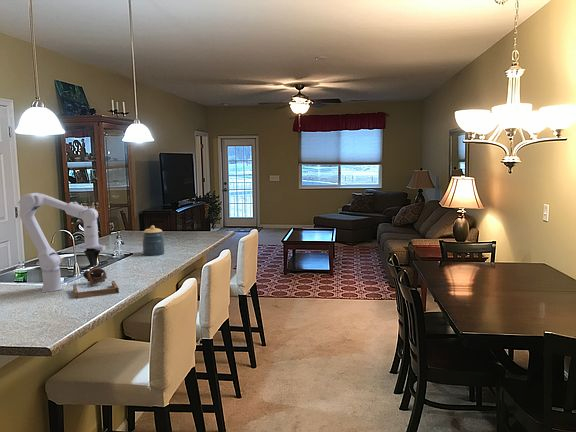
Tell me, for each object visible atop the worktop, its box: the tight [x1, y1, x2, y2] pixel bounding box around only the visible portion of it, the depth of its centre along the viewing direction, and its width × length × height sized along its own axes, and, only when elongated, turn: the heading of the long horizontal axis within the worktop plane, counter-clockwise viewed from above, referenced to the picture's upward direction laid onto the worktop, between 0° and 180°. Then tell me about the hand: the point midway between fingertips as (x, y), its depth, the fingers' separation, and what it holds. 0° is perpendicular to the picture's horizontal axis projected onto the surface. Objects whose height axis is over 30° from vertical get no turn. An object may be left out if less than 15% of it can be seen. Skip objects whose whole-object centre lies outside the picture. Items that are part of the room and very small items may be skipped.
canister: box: [141, 225, 166, 257], centre depth 296 cm, size 13×13×18 cm
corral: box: [72, 280, 120, 299], centre depth 214 cm, size 14×17×2 cm
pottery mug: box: [82, 267, 108, 287], centre depth 228 cm, size 12×10×8 cm
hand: (93, 265), depth 219 cm, fingers closed
